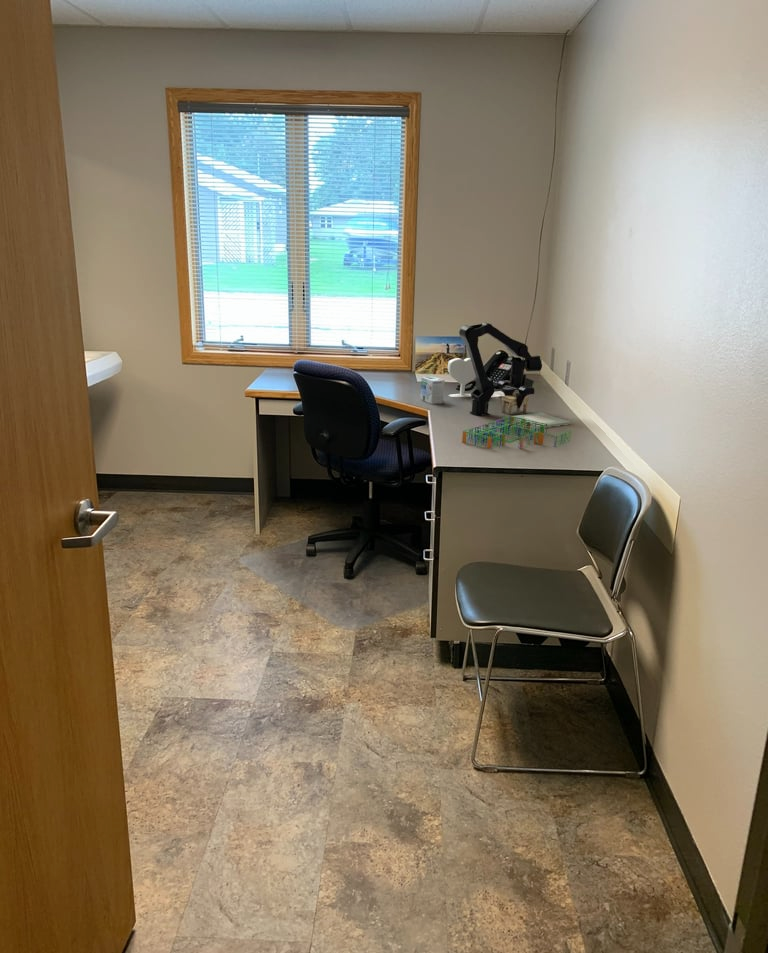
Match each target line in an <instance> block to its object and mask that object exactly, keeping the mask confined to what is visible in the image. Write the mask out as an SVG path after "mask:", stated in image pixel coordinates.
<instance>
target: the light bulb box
mask: <svg viewBox="0 0 768 953" xmlns="http://www.w3.org/2000/svg"><path fill="white" fill-rule="evenodd" d="M444 393H445V379H442V378H439V377H436V376H431V375H430V376H421V381H420V397H419V398H420V400H421V401H423V402H426V403H428V404H431V405H434V404H444V395H445V394H444Z"/></svg>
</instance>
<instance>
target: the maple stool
mask: <svg viewBox="0 0 768 953" xmlns="http://www.w3.org/2000/svg"><path fill="white" fill-rule="evenodd" d="M501 400H502V404H501V413H505V412H506V404H508V403H509V405H508V410H507V415H509V416H512V410H513V409H512V408H513V406H516V411H518V412H519V411H520V409H521V407H520V408H518V407H517V401H516V394H513V395H510V396H505V395H503V396H501ZM528 401H529V396H526V397H525V398H524V400H523V402H522V405H521V406H522V413H523V414H527V405H528V404H527V403H528Z"/></svg>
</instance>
